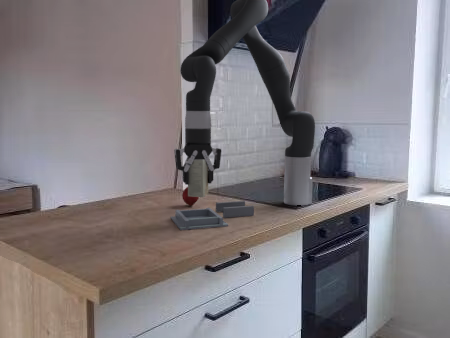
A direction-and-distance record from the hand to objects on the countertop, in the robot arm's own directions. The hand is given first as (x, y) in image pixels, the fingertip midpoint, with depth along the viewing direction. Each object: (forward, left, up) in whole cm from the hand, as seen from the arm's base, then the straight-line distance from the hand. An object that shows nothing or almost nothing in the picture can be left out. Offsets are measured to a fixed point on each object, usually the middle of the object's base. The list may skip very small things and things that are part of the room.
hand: (198, 183), depth 121 cm
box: (0, 0, -4) cm, 4 cm away
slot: (-14, -7, -12) cm, 20 cm away
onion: (-3, -22, -12) cm, 25 cm away
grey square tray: (0, 0, -12) cm, 12 cm away
